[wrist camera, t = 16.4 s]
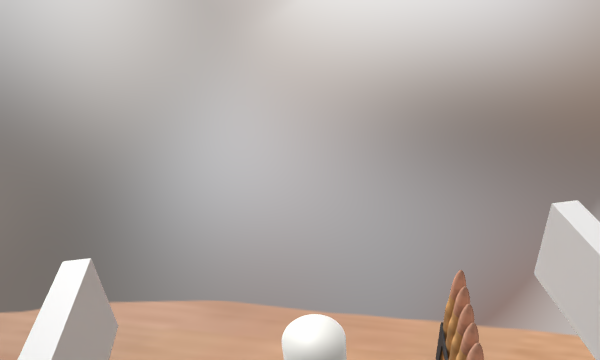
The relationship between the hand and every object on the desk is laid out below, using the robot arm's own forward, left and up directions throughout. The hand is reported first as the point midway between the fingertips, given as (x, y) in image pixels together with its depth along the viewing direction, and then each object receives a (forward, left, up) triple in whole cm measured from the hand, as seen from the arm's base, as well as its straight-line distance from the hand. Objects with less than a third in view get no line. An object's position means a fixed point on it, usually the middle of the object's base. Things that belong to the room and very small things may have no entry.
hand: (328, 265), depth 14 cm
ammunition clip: (+14, +9, -30) cm, 35 cm away
